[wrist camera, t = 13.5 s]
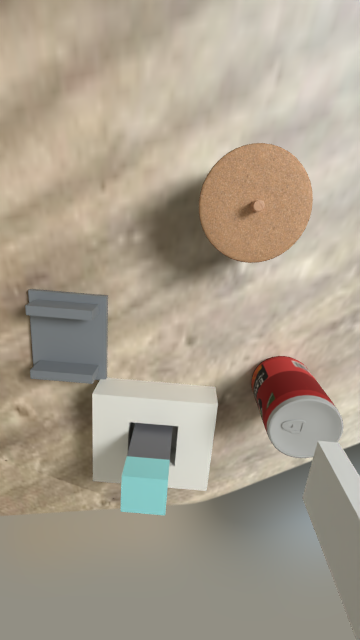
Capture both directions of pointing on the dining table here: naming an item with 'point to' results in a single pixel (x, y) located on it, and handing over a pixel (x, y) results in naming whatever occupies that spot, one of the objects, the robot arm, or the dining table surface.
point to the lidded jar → (255, 202)
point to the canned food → (294, 407)
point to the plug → (147, 470)
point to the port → (154, 408)
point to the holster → (68, 335)
